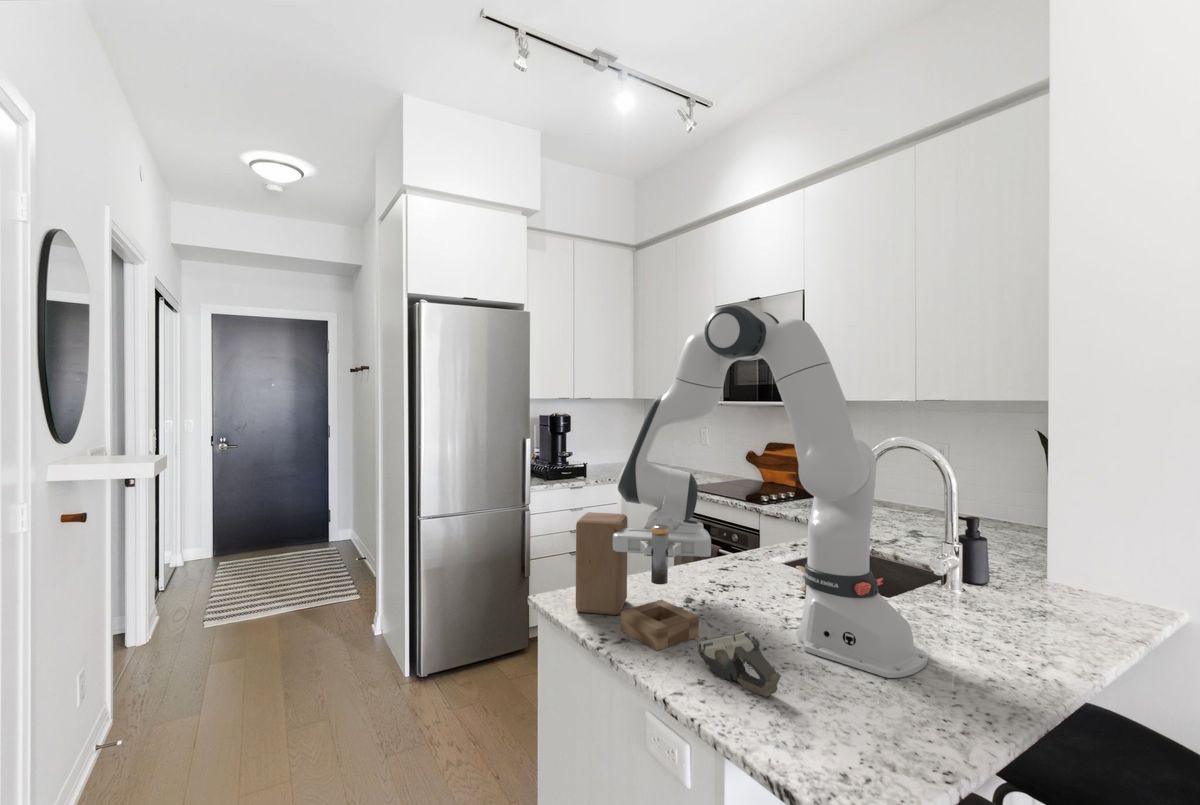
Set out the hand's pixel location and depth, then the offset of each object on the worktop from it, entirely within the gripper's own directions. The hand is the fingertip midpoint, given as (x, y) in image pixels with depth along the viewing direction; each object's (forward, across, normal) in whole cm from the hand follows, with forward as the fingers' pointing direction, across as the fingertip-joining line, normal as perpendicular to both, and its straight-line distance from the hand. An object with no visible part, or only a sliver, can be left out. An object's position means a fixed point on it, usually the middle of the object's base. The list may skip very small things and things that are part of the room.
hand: (659, 552), depth 113 cm
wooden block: (-13, -13, +17) cm, 25 cm away
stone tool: (-37, +40, +17) cm, 57 cm away
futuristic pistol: (+15, +14, +16) cm, 26 cm away
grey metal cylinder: (-1, 0, +6) cm, 6 cm away
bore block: (-1, 0, +16) cm, 16 cm away
